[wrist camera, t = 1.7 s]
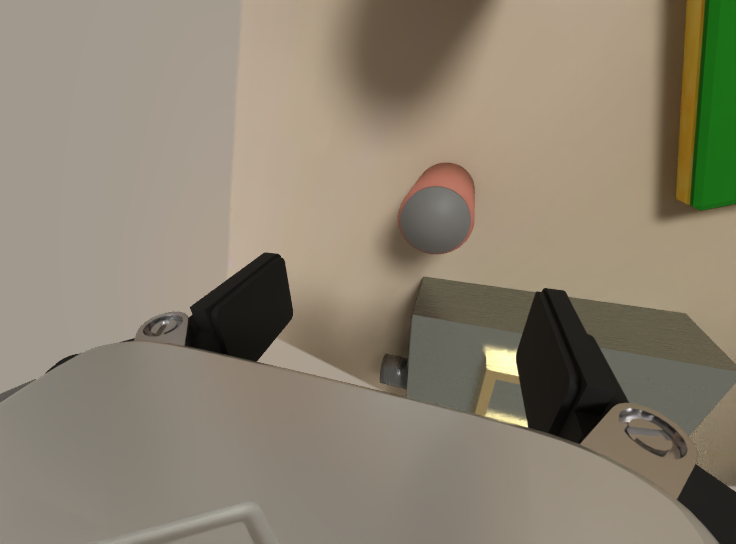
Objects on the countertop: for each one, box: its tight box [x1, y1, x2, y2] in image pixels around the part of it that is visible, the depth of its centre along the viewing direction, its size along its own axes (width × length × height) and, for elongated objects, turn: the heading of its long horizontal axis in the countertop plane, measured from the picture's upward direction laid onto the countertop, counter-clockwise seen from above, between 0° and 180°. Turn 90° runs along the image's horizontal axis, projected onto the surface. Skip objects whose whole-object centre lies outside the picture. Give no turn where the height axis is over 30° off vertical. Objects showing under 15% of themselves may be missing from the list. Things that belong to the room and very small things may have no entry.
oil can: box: [398, 163, 475, 254], centre depth 21 cm, size 5×5×7 cm
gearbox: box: [380, 277, 736, 436], centre depth 26 cm, size 23×14×7 cm, turn 91°
